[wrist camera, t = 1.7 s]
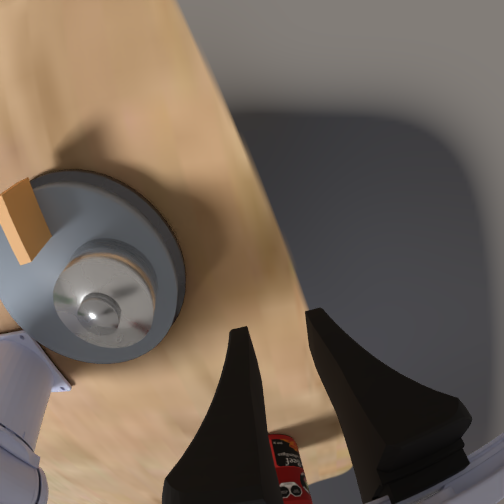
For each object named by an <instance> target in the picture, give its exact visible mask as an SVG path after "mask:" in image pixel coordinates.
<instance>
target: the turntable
mask: <svg viewBox="0 0 504 504" xmlns="http://www.w3.org/2000/svg"><path fill="white" fill-rule="evenodd" d="M101 238H110V239H116V240H120V241H123V242H125V243H128V244H130V245H131V246H133V247H135V248H136V249H138V250H139V251H140V252H141V253H143V254H144V255H145V256H146V258H147V259H148V260H149V261H150V263H151V264H152V266H153V268H154V270H155V272H156V275H157V279H158V293H157V298H156V304H155V310H154V316H153V322H152V326H151V328H150V330H149V332H148V333H147V335H146V336H145V337H144V338H143V339H142V340H140V341H139V342H137V343H135V344H133V345H131V346H128V347H123V348H105V347H100V346H97V345H94V344H91V343H88V342H86V341H84V340H82V339H81V338H79V337H78V336H76V335H75V334H74V333H72V332H71V331H70V330H69V329H68V328H67V327H66V326H65V325H64V323H63V322H62V321H61V319H60V318H59V316H58V314H57V312H56V309H55V306H54V302H53V290H54V286H55V283H56V281H57V279H58V277H59V276H60V274H61V273H62V271H63V269H64V268H65V266H66V265H67V263H68V261H69V260H70V258H71V257H72V255H73V254H74V252H75V251H76V250H77V249H78V248H79V247H80V246H81V245H83V244H84V243H86V242H88V241H91V240H95V239H101ZM177 294H178V280H177V273H176V268H175V265H174V261H173V258H172V255H171V253H170V251H169V249H168V246H167V244H166V243H165V241H164V239H163V238H162V236H161V234H160V233H159V231H158V230H157V229H156V228H155V226H154V225H153V224H152V223H151V221H150V220H149V219H148V218H147V217H146V216H145V215H144V214H143V213H142V212H141V211H140V210H138V209H137V208H136V207H135V206H133V205H132V204H131V203H130V202H128V201H127V200H125V199H123V198H122V197H120V196H118V195H117V194H115V193H113V192H111V191H109V190H106V189H104V188H102V187H99V186H95V185H92V184H89V183H83V182H76V181H58V182H52V183H47V184H44V185H41V186H38V187H36V188H34V189H32V187H31V184H30V181H29V178H26V179H23V180H21V181H19V182H17V183H16V184H14V185H13V186H11V187H10V188H8V189H7V190H6V191H4V192H3V193H1V194H0V299H1V301H2V303H3V304H4V306H5V308H6V309H7V311H8V312H9V314H10V315H11V316H12V318H13V319H14V320H15V321H16V322H17V324H18V325H19V326H20V327H21V328H22V329H23V330H24V331H25V332H26V333H27V334H29V335H30V336H31V337H32V338H34V339H35V340H36V341H37V342H39V343H40V344H42V345H43V346H45V347H47V348H49V349H50V350H52V351H54V352H56V353H58V354H61V355H63V356H65V357H68V358H71V359H75V360H78V361H83V362H88V363H96V364H111V363H120V362H124V361H129V360H132V359H135V358H137V357H139V356H141V355H143V354H145V353H147V352H148V351H150V350H151V349H153V348H154V347H155V346H156V345H157V344H158V343H159V342H161V340H162V339H163V338H164V337H165V335H166V334H167V332H168V330H169V329H170V327H171V325H172V322H173V319H174V316H175V311H176V305H177Z"/></svg>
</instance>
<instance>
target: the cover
mask: <svg viewBox="0 0 504 504" xmlns="http://www.w3.org/2000/svg"><path fill="white" fill-rule="evenodd" d="M157 293H158V279H157V275H156V272H155V270H154V268H153V266H152V264H151V263H150V261H149V260H148V259H147V258H146V256H145V255H144V254H143V253H141V252H140V251H139V250H138V249H136V248H135V247H133V246H131V245H130V244H128V243H125V242H123V241H120V240H116V239H110V238H101V239H95V240H91V241H88V242H86V243H84V244H83V245H81V246H80V247H79V248H78V249H77V250H76V251H75V252H74V254H73V255H72V257H71V258H70V260H69V261H68V263H67V265H66V266H65V268H64V269H63V271H62V273H61V274H60V276H59V277H58V279H57V281H56V283H55V286H54V290H53V302H54V306H55V309H56V312H57V314H58V316H59V318H60V319H61V321H62V322H63V323H64V325H65V326H66V327H67V328H68V329H69V330H70V331H71V332H72V333H74V334H75V335H76V336H78V337H79V338H81V339H82V340H84V341H86V342H88V343H91V344H94V345H97V346H100V347H105V348H123V347H128V346H131V345H133V344H135V343H137V342H139V341H140V340H142V339H143V338H144V337H145V336H146V335H147V333H148V332H149V330H150V328H151V326H152V322H153V316H154V310H155V304H156V298H157Z"/></svg>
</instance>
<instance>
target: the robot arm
mask: <svg viewBox="0 0 504 504" xmlns="http://www.w3.org/2000/svg"><path fill="white" fill-rule="evenodd" d="M305 316H306V324H307V333H308V341H309V348H310V351H311V354H312V357H313V360H314V364H315V367H316V369H317V372H318V374H319V376H320V378H321V380H322V383H323V385H324V387H325V389H326V391H327V394H328V396H329V398H330V400H331V402H332V405H333V407H334V409H335V411H336V414H337V416H338V419H339V422H340V425H341V428H342V431H343V434H344V437H345V441H346V444H347V447H348V450H349V454H350V457H351V461H352V464H353V468H354V471H355V474H356V478H357V482H358V486H359V490H360V494H361V498H362V502H363V504H412V503H414V502H417V501H419V500H421V499H423V498H425V497H427V496H429V495H431V494H433V493H435V492H437V491H439V492H437V493H435V494H434V495H432V496H430V497H428V498H427V499H425V500H423V501H421V502H419V503H418V504H496V503H498V502H499V501H500V500H502V499H503V498H504V432H503V433H502V434H501V435H499V436H498V437H497V438H495V439H493V440H492V441H490V442H489V443H487V444H486V445H484V446H483V447H481V448H479V449H478V450H476V451H475V452H473V453H471V454H470V455H468V456H466V454H465V452H464V450H463V447H464V442H463V440H462V439H461V437H462V436H463V434H464V433H465V432H466V430H467V429H468V428H469V426H470V424H471V422H472V417H471V415H470V413H469V412H468V410H467V409H466V407H465V406H464V405H463V403H462V402H461V401H460V400H459V399H458V398H456V397H453V396H450V395H447V394H444V393H441V392H438V391H435V390H433V389H431V388H428V387H426V386H424V385H421V384H420V383H418V382H416V381H414V380H412V379H410V378H408V377H406V376H404V375H402V374H400V373H398V372H397V371H395V370H393V369H392V368H390V367H389V366H387V365H385V364H384V363H383V362H381V361H380V360H378V359H377V358H375V357H374V356H372V355H371V354H370V353H369V352H368V351H366V350H365V349H364V348H362V347H361V346H360V345H359V344H358V343H356V342H355V341H354V340H353V339H352V338H351V337H350V336H349V335H348V334H346V333H345V332H344V331H343V330H342V329H341V328H340V327H339V326H338V325H337V324H336V323H335V322H334V321H333V320H332V319H331V318H330V317H329V315H328V314H327V313H326V312H325V311H324V310H323V309H322V308H317V309H313V310H309V311H305ZM71 388H72V386H71V385H70V384H69V382H68V381H67V380H66V379H65V378H64V376H63V375H62V374H61V373H60V372H59V370H58V369H57V368H56V367H55V365H54V364H53V363H52V361H51V360H50V359H49V358H48V356H47V355H46V354H45V352H44V351H43V350H42V348H41V347H40V346H39V344H38V343H37V341H36V340H35V339H34V338H32V337H31V336H30V335H29V334H27V333H26V332H25V331H24V330H21V331H16V332H11V333H5V334H0V504H47V500H48V483H47V480H46V476H45V473H44V471H43V470H42V468H41V467H39V461H40V457H39V456H38V455H36V454H35V453H34V451H35V446H36V442H37V438H38V435H39V431H40V427H41V424H42V420H43V416H44V413H45V410H46V406H47V403H48V400H49V397H50V393H51V392H62V391H70V390H71ZM162 504H284V502H283V498H282V494H281V490H280V486H279V481H278V477H277V473H276V469H275V464H274V460H273V456H272V451H271V447H270V442H269V437H268V431H267V423H266V414H265V405H264V396H263V387H262V380H261V375H260V371H259V366H258V362H257V358H256V355H255V351H254V348H253V344H252V341H251V338H250V334H249V331H248V327H247V326H245V327H241V328H237V329H232V330H231V331H230V332H229V343H228V349H227V354H226V359H225V362H224V366H223V370H222V374H221V377H220V380H219V383H218V386H217V389H216V392H215V395H214V398H213V400H212V403H211V405H210V407H209V410H208V412H207V414H206V416H205V418H204V420H203V422H202V424H201V426H200V428H199V430H198V432H197V434H196V435H195V437H194V439H193V440H192V442H191V443H190V445H189V447H188V448H187V450H186V451H185V453H184V454H183V456H182V457H181V459H180V460H179V461H178V463H177V464H176V465H175V466H174V468H173V469H172V470H171V472H170V473H169V474H168V475H167V477H166V478H165V481H164V486H163V493H162Z"/></svg>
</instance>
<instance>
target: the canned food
mask: <svg viewBox="0 0 504 504" xmlns="http://www.w3.org/2000/svg"><path fill="white" fill-rule="evenodd" d="M268 437H269V442H270V447H271V451H272V456H273V460H274V464H275V469H276V473H277V477H278V481H279V486H280V490H281V494H282V498H283V502H284V504H312V499H311V496H310V492H309V488H308V484H307V481H306V477H305V473H304V470H303V466H302V462H301V458H300V455H299V451H298V447H297V444H296V443H295V441H294V440H293V439H292V438H291V437H289V436H286V435H281V434H269V435H268Z"/></svg>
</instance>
